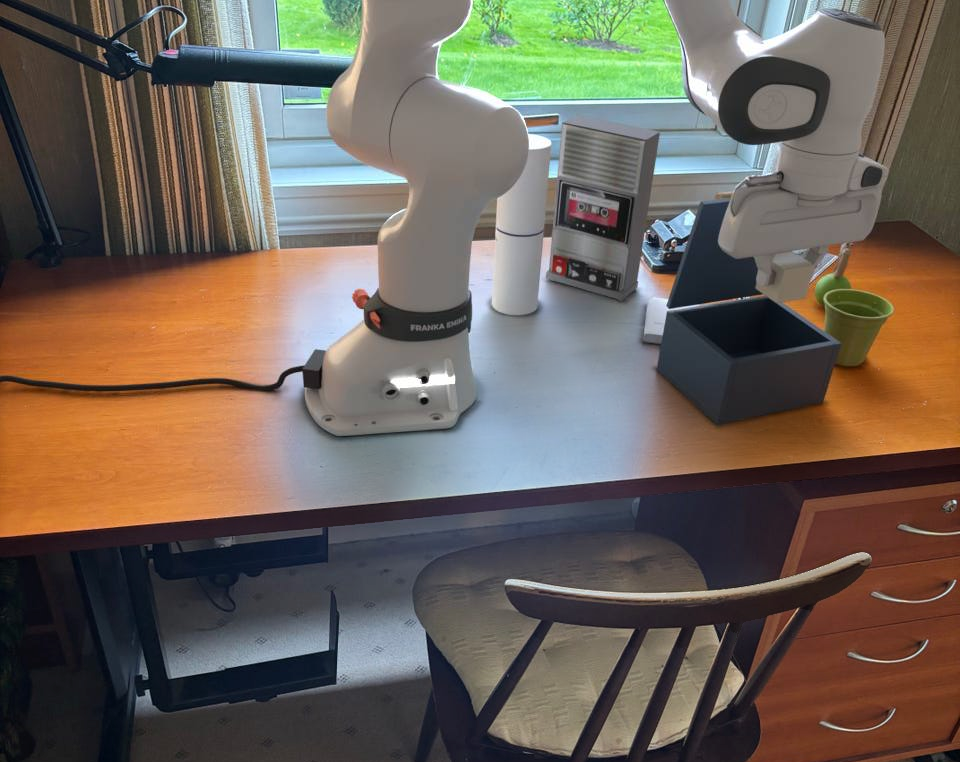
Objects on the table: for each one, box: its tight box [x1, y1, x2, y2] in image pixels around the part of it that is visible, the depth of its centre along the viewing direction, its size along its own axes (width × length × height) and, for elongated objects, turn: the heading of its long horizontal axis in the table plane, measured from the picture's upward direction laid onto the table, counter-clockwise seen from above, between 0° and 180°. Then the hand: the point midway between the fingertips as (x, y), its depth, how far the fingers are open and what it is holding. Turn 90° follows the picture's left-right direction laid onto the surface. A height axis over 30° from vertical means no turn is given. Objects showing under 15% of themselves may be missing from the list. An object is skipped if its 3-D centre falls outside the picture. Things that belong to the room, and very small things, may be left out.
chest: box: [656, 295, 842, 425], centre depth 123 cm, size 15×17×9 cm
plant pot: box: [823, 288, 895, 367], centre depth 130 cm, size 9×9×9 cm
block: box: [755, 251, 815, 303], centre depth 112 cm, size 4×4×4 cm
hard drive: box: [642, 296, 702, 345], centre depth 138 cm, size 2×8×12 cm
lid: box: [666, 190, 790, 309], centre depth 120 cm, size 16×17×5 cm
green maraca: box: [814, 242, 854, 308], centre depth 143 cm, size 5×6×12 cm
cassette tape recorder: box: [545, 114, 661, 302], centre depth 142 cm, size 14×6×25 cm, turn 58°
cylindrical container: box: [491, 133, 552, 316], centre depth 135 cm, size 7×7×25 cm
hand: (783, 281), depth 112 cm, fingers closed on block, 4 cm apart
